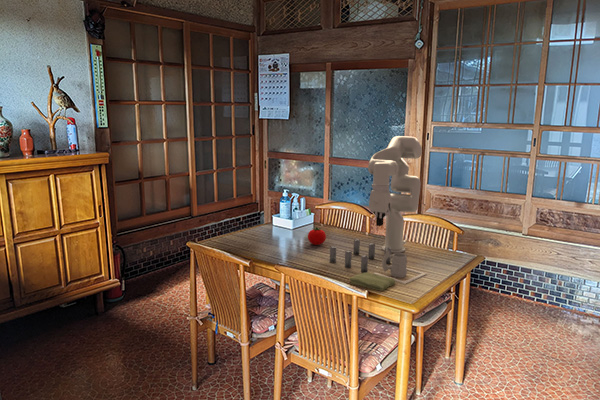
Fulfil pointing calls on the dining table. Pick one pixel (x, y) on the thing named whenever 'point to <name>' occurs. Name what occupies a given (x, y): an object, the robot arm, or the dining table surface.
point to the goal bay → (408, 279)
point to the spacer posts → (356, 252)
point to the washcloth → (372, 281)
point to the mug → (396, 264)
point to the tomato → (316, 236)
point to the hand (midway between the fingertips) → (379, 225)
